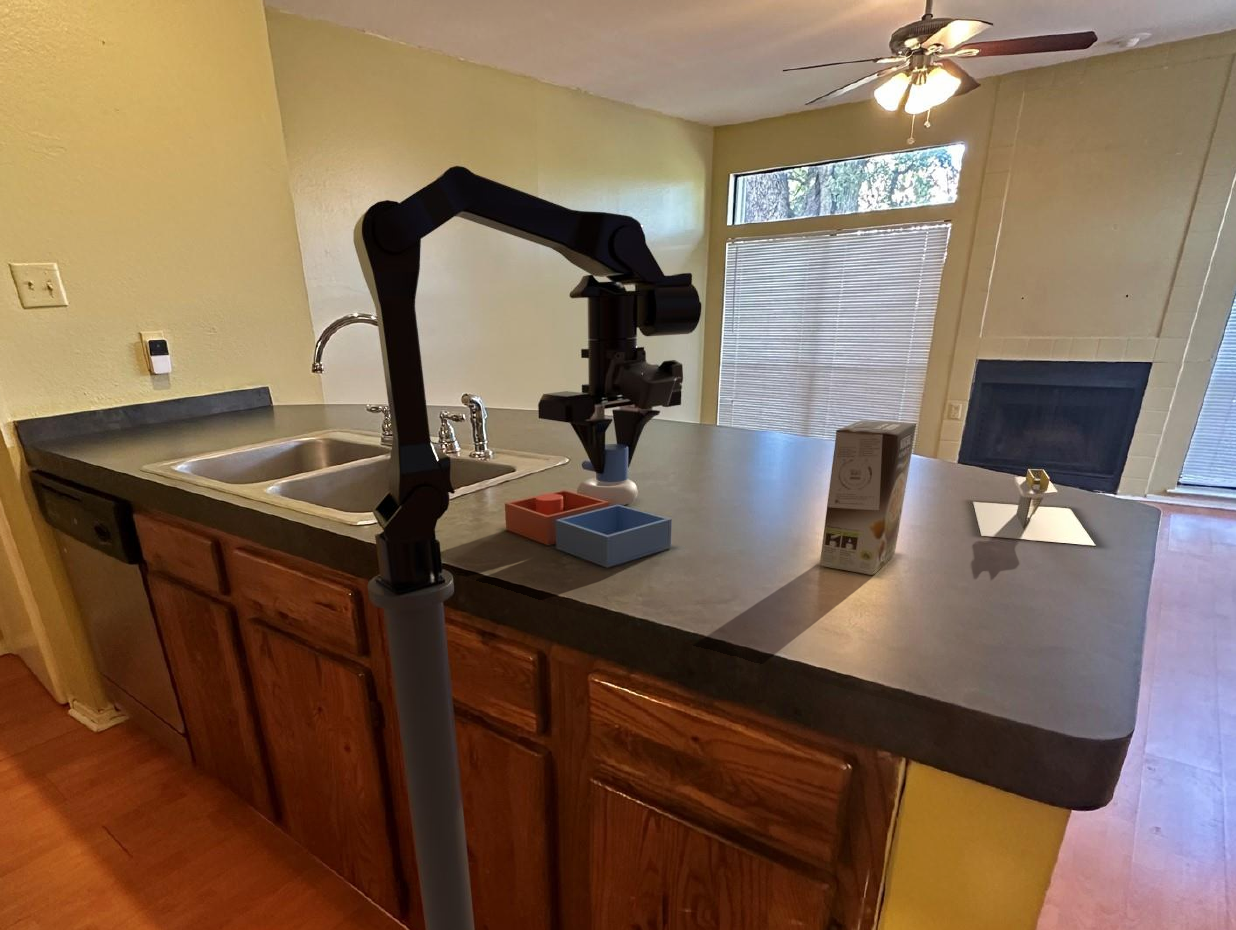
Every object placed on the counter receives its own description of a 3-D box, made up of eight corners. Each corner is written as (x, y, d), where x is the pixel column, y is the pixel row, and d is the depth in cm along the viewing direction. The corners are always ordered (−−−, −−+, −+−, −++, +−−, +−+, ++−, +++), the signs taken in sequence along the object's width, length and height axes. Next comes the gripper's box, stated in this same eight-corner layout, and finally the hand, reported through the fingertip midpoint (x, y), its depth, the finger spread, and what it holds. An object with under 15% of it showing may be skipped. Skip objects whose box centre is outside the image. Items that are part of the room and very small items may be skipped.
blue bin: (607, 568, 85) (607, 537, 83) (556, 548, 92) (555, 519, 91) (670, 548, 91) (671, 518, 89) (617, 531, 98) (618, 504, 97)
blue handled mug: (634, 478, 87) (635, 446, 85) (611, 483, 85) (611, 451, 83) (594, 469, 92) (594, 439, 91) (571, 474, 90) (571, 443, 89)
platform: (1069, 508, 100) (1081, 463, 97) (1095, 545, 85) (1110, 493, 82) (972, 501, 105) (981, 458, 102) (981, 535, 90) (991, 486, 88)
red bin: (547, 545, 94) (547, 517, 92) (506, 529, 102) (504, 503, 100) (609, 528, 100) (609, 501, 98) (565, 514, 108) (564, 489, 106)
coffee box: (875, 576, 78) (897, 434, 72) (818, 566, 82) (834, 430, 76) (896, 554, 85) (918, 421, 79) (842, 545, 89) (858, 418, 83)
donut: (646, 498, 115) (592, 491, 120) (647, 477, 114) (593, 472, 119) (622, 513, 108) (565, 505, 112) (622, 491, 106) (565, 484, 111)
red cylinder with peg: (531, 523, 102) (529, 497, 101) (552, 518, 104) (551, 492, 103) (562, 534, 96) (562, 506, 95) (584, 528, 99) (584, 501, 97)
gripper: (597, 344, 70) (599, 495, 76) (719, 334, 80) (712, 468, 86) (532, 343, 78) (538, 479, 84) (650, 334, 88) (647, 456, 94)
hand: (612, 470), depth 87 cm, fingers closed on blue handled mug, 4 cm apart
